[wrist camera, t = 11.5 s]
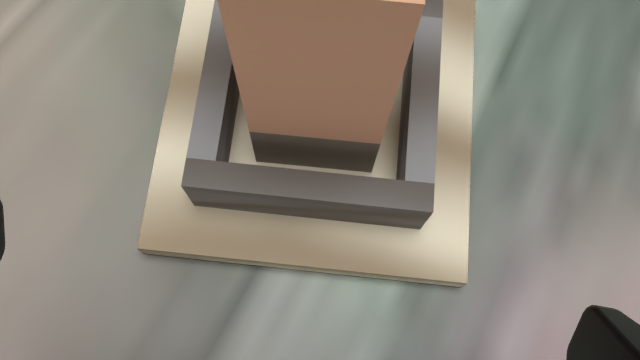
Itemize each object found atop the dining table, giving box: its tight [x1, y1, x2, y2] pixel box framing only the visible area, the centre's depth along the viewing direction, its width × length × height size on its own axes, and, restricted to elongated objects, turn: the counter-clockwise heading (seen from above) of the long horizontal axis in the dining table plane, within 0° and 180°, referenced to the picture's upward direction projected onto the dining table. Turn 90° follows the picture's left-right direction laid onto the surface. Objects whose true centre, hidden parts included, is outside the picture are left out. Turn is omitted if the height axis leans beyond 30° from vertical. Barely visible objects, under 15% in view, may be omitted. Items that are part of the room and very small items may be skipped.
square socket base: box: [137, 0, 475, 287], centre depth 23 cm, size 12×12×4 cm
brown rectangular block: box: [217, 0, 425, 173], centre depth 18 cm, size 4×4×11 cm
